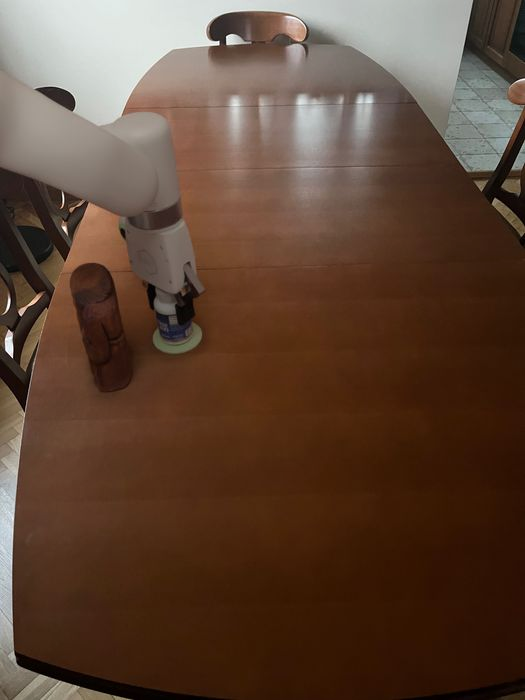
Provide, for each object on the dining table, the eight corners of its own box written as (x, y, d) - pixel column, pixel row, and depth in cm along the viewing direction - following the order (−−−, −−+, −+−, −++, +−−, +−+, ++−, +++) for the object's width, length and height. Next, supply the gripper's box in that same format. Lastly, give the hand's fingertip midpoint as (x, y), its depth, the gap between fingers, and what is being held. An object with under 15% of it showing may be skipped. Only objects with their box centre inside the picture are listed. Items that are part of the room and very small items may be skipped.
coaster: (177, 361, 92) (176, 359, 92) (142, 340, 96) (142, 338, 95) (212, 334, 96) (212, 332, 96) (177, 314, 100) (177, 313, 100)
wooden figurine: (90, 346, 95) (60, 252, 83) (129, 338, 96) (106, 244, 84) (95, 398, 87) (62, 302, 74) (138, 389, 88) (113, 293, 75)
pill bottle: (155, 330, 96) (145, 282, 90) (186, 320, 98) (178, 272, 92) (167, 350, 93) (157, 301, 86) (198, 339, 95) (191, 290, 88)
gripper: (92, 202, 82) (118, 304, 94) (179, 242, 74) (195, 348, 86) (133, 181, 86) (153, 281, 98) (219, 217, 78) (229, 322, 90)
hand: (172, 311), depth 92 cm, fingers closed on pill bottle, 5 cm apart
